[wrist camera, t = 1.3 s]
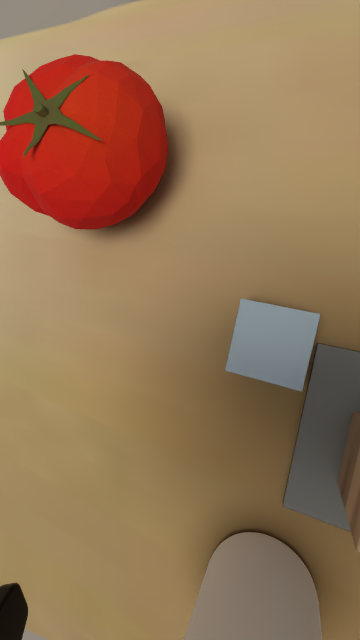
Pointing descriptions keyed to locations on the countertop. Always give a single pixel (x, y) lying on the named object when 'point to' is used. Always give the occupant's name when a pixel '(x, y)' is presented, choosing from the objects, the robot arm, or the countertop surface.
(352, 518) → the tower top
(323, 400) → the mat
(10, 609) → the robot arm
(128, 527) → the countertop surface
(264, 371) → the pale grey cube
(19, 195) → the tomato
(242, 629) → the pill bottle
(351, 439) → the tower base
